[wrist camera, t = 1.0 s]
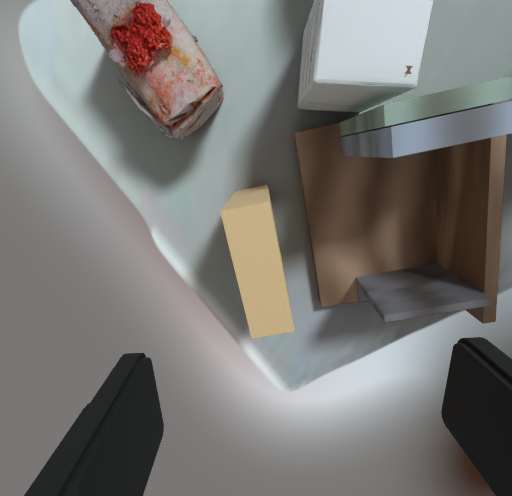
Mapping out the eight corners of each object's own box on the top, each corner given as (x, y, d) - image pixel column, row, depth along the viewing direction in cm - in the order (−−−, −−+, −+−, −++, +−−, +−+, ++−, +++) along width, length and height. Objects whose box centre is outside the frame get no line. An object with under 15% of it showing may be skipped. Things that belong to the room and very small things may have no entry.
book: (267, 184, 35) (269, 201, 22) (284, 273, 38) (294, 331, 26) (235, 190, 35) (220, 211, 23) (255, 279, 39) (251, 338, 26)
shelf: (438, 101, 31) (576, 60, 18) (440, 281, 38) (540, 354, 24) (293, 133, 33) (315, 118, 19) (319, 301, 39) (349, 381, 26)
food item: (238, 101, 32) (227, 79, 23) (184, 146, 34) (154, 143, 24) (155, -20, 29) (102, -104, 19) (100, 37, 30) (27, -16, 21)
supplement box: (373, 35, 30) (448, -45, 18) (360, 114, 32) (418, 91, 20) (301, 31, 30) (328, -52, 18) (294, 109, 32) (312, 84, 20)
